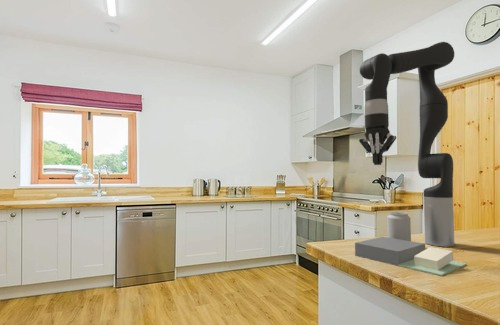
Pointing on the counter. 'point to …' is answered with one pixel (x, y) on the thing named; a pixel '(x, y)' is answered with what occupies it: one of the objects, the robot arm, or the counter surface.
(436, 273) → the mat
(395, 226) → the can
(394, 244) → the block
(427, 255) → the cream rectangular slab
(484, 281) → the counter surface
